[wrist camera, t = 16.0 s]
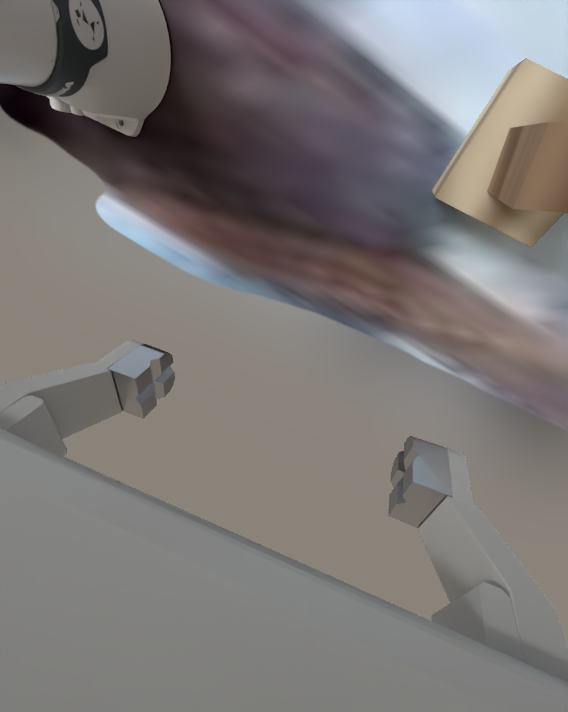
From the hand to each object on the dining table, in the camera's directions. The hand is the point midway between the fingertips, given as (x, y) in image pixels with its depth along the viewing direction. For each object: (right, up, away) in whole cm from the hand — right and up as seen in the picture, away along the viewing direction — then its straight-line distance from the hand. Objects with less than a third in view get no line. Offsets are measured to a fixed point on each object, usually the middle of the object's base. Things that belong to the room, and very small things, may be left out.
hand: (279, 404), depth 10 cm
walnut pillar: (+22, +19, +18) cm, 34 cm away
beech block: (+24, +22, +23) cm, 40 cm away
